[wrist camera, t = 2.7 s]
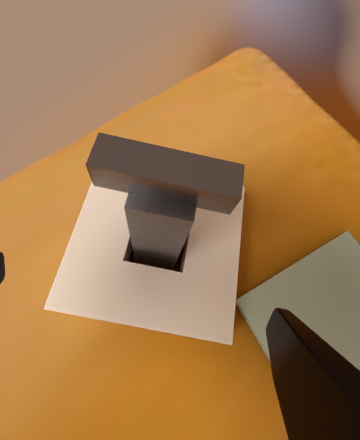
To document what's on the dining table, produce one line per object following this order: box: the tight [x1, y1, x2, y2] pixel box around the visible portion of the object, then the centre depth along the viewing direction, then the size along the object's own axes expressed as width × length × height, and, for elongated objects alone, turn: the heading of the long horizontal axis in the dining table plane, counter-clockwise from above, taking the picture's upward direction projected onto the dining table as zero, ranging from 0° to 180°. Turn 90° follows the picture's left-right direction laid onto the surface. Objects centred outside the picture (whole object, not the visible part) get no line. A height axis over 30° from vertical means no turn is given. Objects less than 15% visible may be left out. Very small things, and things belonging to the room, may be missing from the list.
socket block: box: [44, 183, 245, 345], centre depth 19 cm, size 12×12×3 cm
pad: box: [236, 231, 360, 370], centre depth 19 cm, size 13×13×1 cm
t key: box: [86, 133, 244, 270], centre depth 15 cm, size 3×6×12 cm, turn 80°
